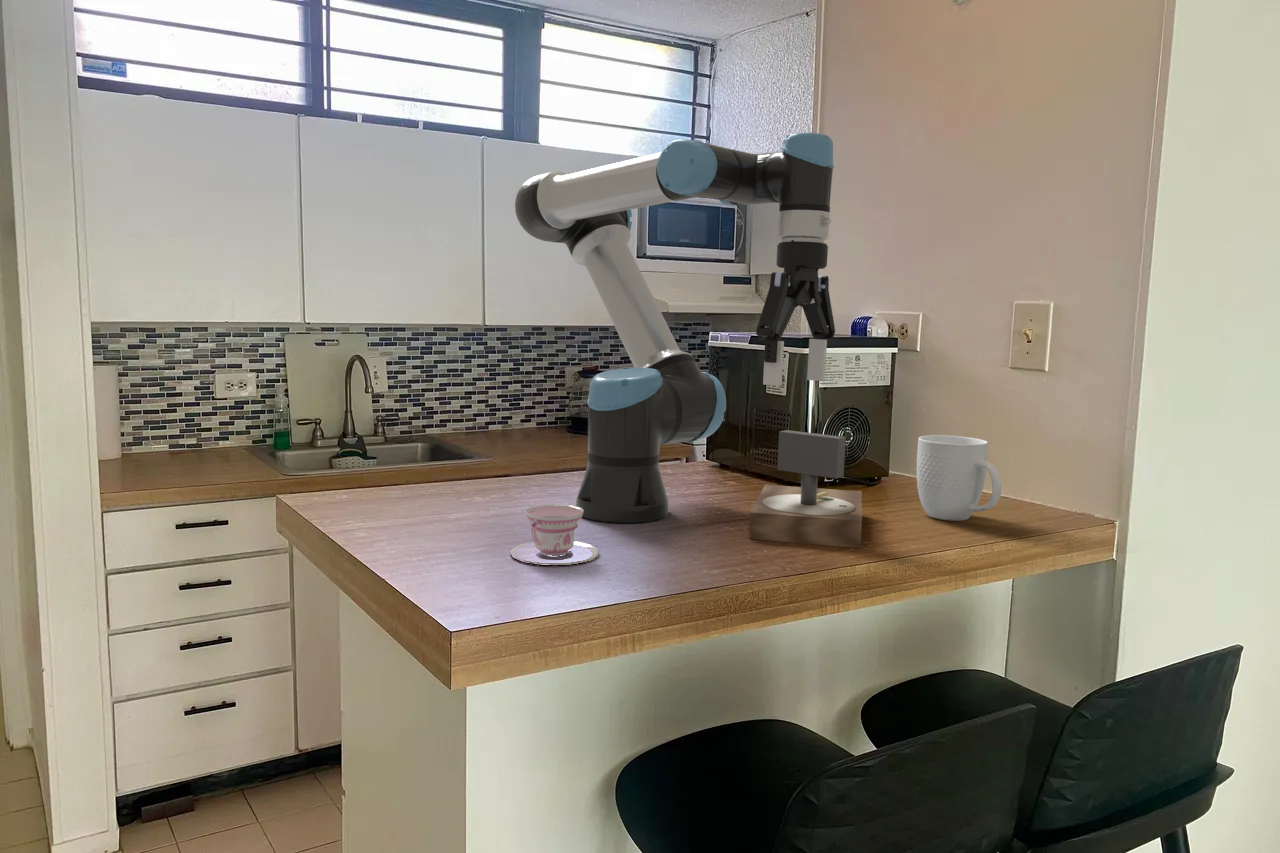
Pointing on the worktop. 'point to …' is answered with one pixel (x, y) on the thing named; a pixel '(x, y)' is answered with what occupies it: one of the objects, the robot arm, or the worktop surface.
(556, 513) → the teacup
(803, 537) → the tuner board
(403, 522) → the worktop surface
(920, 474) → the mug
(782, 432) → the peg knob
